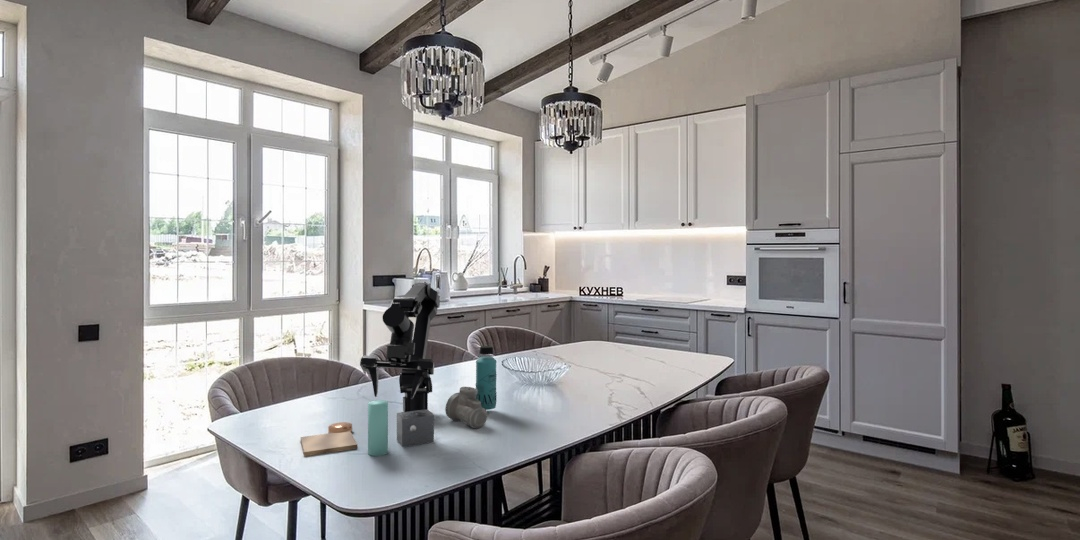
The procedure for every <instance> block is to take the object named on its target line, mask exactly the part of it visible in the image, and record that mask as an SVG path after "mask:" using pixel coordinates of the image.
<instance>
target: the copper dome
mask: <svg viewBox="0 0 1080 540" xmlns="http://www.w3.org/2000/svg"><path fill="white" fill-rule="evenodd" d="M327 427H328V428H327V429H328V431H327V434H328V433H336V432H343V431H350V432H352V433H353V423H351V422H343V421H342V422H336V423H331V424H329V426H327Z"/></svg>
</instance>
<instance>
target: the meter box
mask: <svg viewBox="0 0 1080 540" xmlns="http://www.w3.org/2000/svg"><path fill="white" fill-rule="evenodd" d="M396 441H397V443H398V444H399V445H400V446H401V447H402V448H406V447H413V446H420V445H425V444H426V445H427V444H433V443H435V415H434V414H433V412H431V411H430V410H429V409H425V410H417V411H409V412H404V411H402V412H396Z"/></svg>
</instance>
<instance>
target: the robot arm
mask: <svg viewBox="0 0 1080 540" xmlns="http://www.w3.org/2000/svg"><path fill="white" fill-rule="evenodd" d="M440 304H441V299H440V296H439V292H438V291H437V290H435V289H434V288H433V287H431V285H430V284H429V283H427V282H415V283H412V285H411V288H410V289H409V290H408V291H407V292H406V293H405V294H401V295H397V296H394V298H393V300H391V302H390V304H389V306H388V308H387V309H386V310H385V311H384V312H383V314H382V322H383V323H384V325H385V326H386V328H387V329H388V330H389V331H390V332H391V335H390V340H389V341H390V342H389V344H387V346H386V356H385V358H386V360H381V359H379V358H378V356H377V355H365V354H364V355H363V356H362V357H361V358H360V362H359V366H360V369H361V370H362V371H363V372H366V374H367V375H369V376H370V378H371V382H372V390H373V395H374V397H375V398H376V397H378V392H379V391H378V390H379V375H380V374H379V373H380V372H379V371H378V370H379V368H382V369H396V370H397V369H399V370H400V369H402V370H401V372H400V373H399V376H398V377H399V379H398V380H399V381H398V382H399V391H400V394H404V396H403V397H402V412H409V411H417V410H425V409H428V408H429V407H428V405H429V403H428V402H429V397H428V396H429V395H428V394H429V393H432V392H433V382H432V377H431V375H434V372H435V361H434V360H433V359H432V358H426V355H427V348H428V341H429V333H430V326H431V321H432V320H433V319H434V318H435V317H436V316H437V313H438V309H439V308H440V306H441V305H440ZM410 318H415V324H414V322H413V320H412V319H410ZM428 410H429V409H428Z"/></svg>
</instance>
